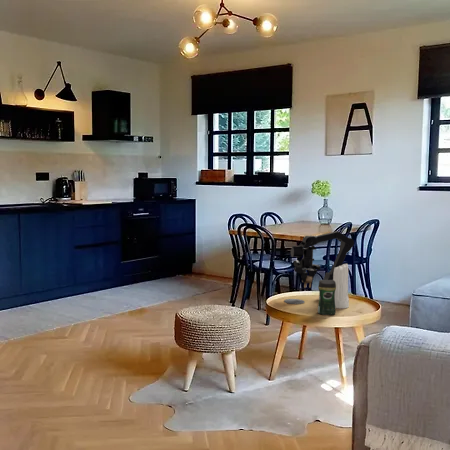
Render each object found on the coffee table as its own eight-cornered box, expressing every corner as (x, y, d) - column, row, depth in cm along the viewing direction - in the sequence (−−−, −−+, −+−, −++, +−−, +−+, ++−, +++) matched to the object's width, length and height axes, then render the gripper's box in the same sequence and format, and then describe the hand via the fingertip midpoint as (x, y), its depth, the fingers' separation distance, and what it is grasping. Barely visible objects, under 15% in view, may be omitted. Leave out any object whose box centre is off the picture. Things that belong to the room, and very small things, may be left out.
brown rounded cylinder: (313, 287, 337) (314, 276, 336) (307, 288, 333) (308, 277, 332) (305, 285, 341) (306, 275, 341) (299, 286, 337) (300, 276, 336)
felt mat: (308, 302, 331) (308, 301, 331) (296, 305, 322) (296, 304, 322) (292, 298, 339) (292, 297, 339) (280, 301, 331) (280, 300, 330)
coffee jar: (334, 312, 307) (335, 278, 306) (336, 315, 300) (337, 281, 298) (316, 311, 308) (317, 278, 306) (318, 315, 300) (319, 281, 299)
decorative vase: (327, 306, 319) (328, 263, 317) (332, 303, 329) (334, 261, 326) (345, 309, 314) (347, 265, 312) (350, 305, 324) (352, 263, 321)
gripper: (306, 254, 347) (305, 278, 349) (287, 256, 334) (287, 282, 336) (321, 256, 340) (320, 281, 341) (302, 259, 326) (301, 285, 328)
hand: (307, 282), depth 337 cm, fingers closed on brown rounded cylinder, 6 cm apart
